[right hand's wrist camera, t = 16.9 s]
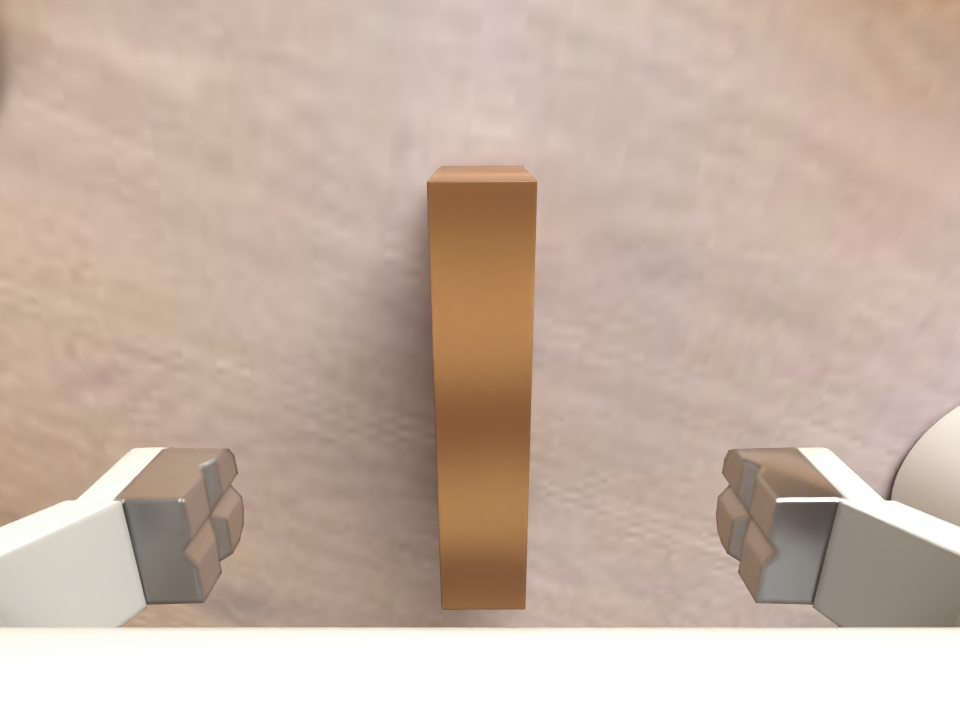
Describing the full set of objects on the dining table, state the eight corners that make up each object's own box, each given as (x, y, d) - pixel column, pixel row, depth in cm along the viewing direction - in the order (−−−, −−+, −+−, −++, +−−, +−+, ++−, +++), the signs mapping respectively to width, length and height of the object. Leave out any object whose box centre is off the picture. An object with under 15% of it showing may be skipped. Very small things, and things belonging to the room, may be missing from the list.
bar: (440, 166, 33) (426, 181, 25) (523, 166, 33) (537, 180, 25) (449, 512, 41) (441, 610, 33) (516, 512, 41) (525, 609, 33)
